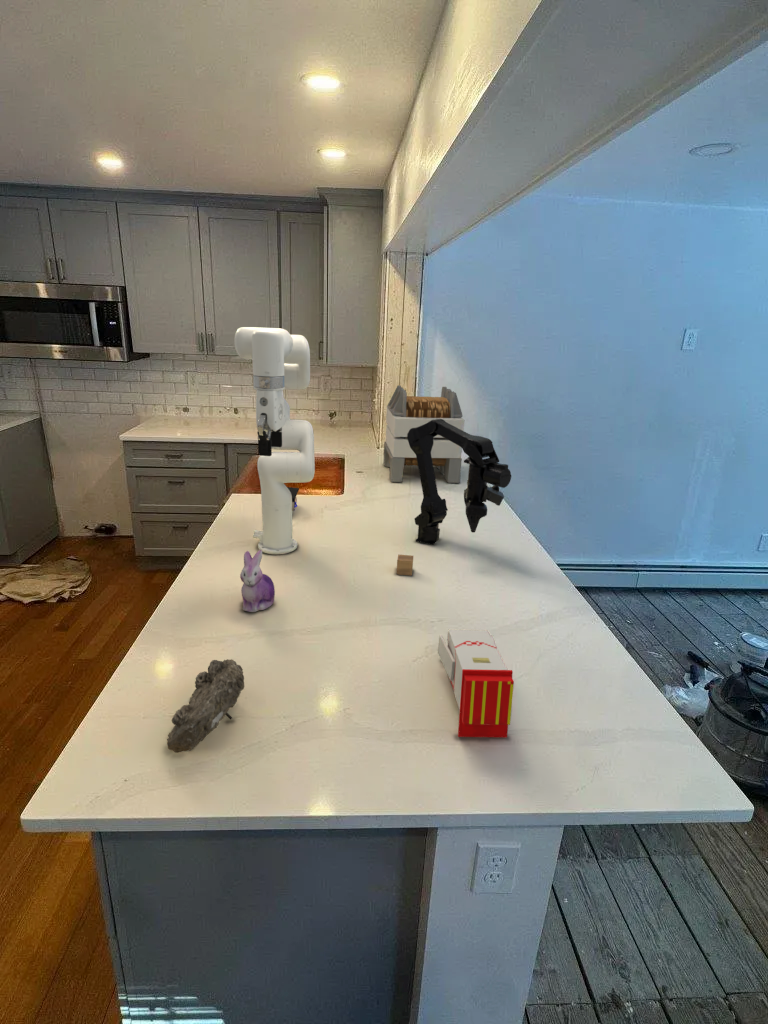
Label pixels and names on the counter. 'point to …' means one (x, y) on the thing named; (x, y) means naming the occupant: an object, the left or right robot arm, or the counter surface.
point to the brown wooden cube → (404, 565)
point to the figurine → (255, 584)
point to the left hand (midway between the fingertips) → (270, 450)
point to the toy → (478, 682)
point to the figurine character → (293, 496)
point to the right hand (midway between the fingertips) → (472, 526)
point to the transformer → (414, 414)
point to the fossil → (206, 705)
